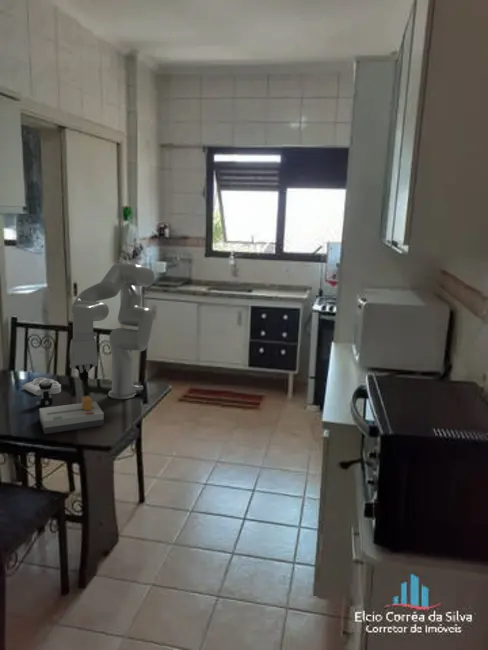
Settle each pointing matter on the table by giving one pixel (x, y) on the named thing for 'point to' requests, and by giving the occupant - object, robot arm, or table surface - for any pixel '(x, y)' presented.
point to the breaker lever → (87, 403)
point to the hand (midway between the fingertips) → (84, 380)
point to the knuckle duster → (35, 387)
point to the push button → (45, 393)
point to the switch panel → (70, 417)
